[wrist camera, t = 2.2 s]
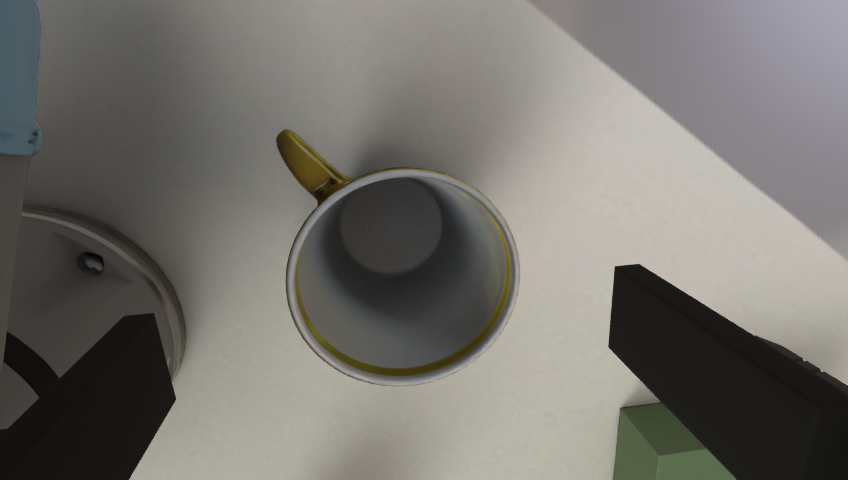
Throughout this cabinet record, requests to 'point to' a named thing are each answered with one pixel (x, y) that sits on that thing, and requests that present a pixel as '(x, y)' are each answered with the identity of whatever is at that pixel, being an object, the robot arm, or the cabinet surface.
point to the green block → (661, 448)
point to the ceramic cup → (397, 270)
